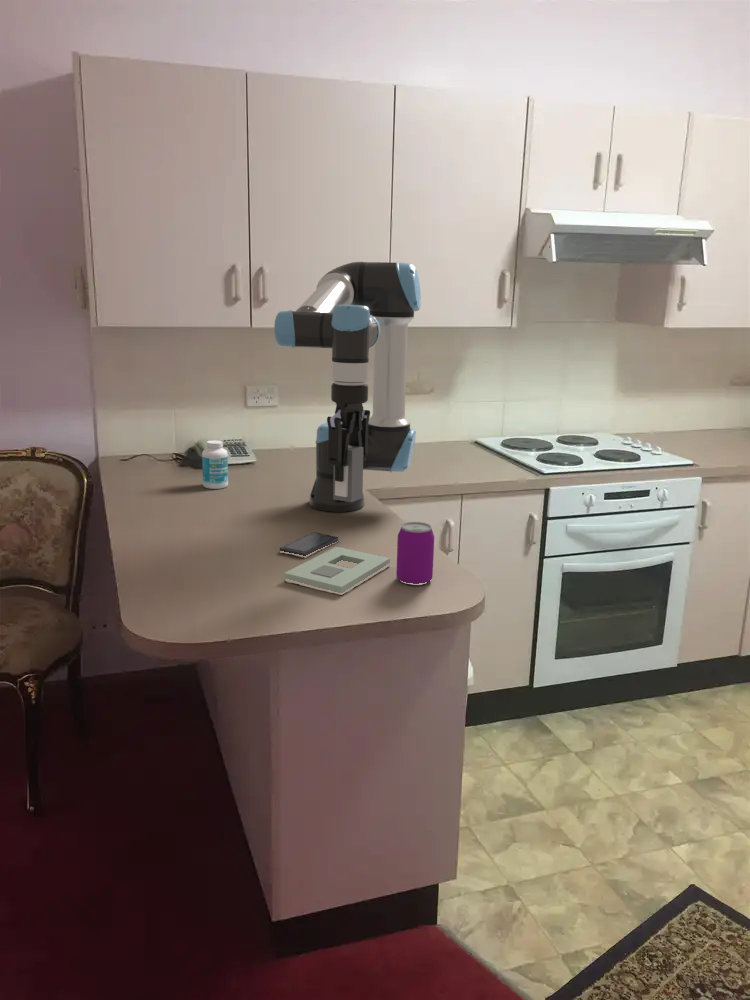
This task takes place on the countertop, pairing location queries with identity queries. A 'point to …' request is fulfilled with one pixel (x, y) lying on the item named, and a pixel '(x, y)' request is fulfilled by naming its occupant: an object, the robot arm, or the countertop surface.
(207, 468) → the pill bottle
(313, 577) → the outlet plate
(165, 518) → the countertop surface
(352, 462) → the brick
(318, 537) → the phone
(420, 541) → the beverage can
